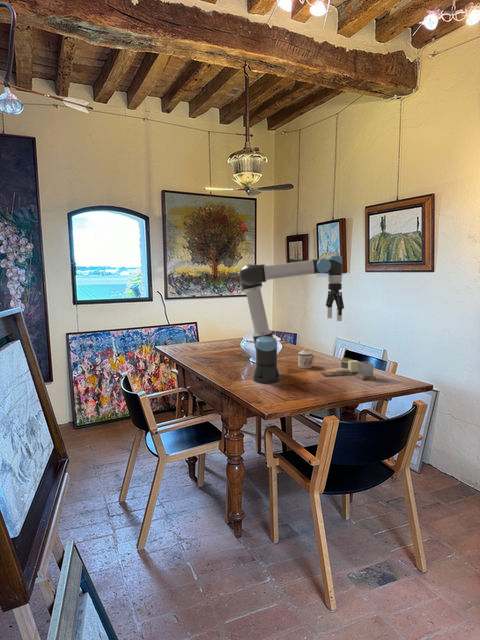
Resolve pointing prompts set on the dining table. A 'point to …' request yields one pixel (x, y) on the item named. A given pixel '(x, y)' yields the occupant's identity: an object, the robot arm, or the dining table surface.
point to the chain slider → (351, 366)
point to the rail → (338, 373)
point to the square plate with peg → (365, 377)
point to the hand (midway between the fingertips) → (334, 319)
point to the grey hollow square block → (365, 369)
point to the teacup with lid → (305, 359)
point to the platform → (344, 363)
